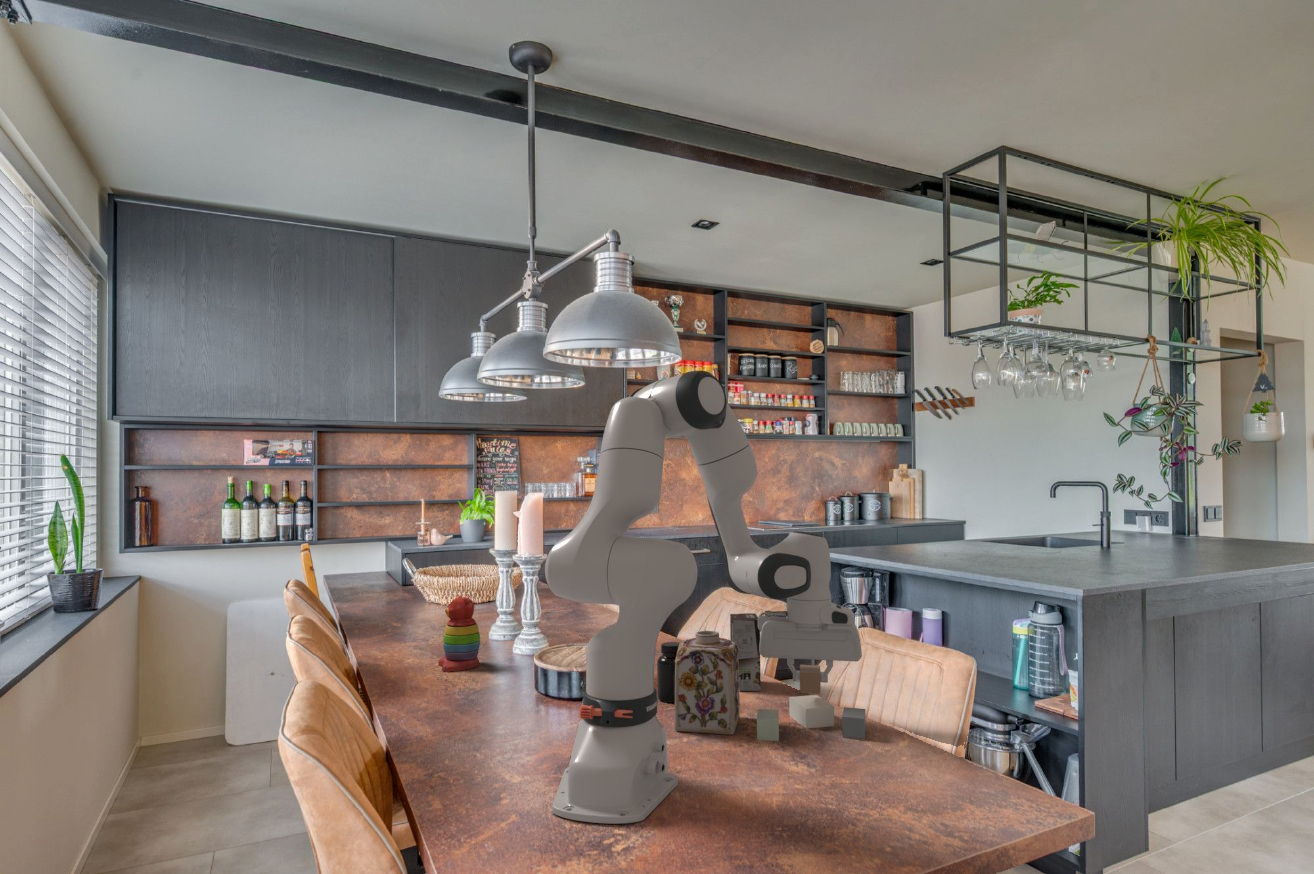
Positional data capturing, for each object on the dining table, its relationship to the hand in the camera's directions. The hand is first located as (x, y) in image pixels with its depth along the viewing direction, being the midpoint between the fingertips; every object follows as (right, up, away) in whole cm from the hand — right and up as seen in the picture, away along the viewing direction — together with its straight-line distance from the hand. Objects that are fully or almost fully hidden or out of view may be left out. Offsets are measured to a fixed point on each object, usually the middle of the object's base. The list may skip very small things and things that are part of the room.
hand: (810, 681), depth 149 cm
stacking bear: (-82, -11, +44) cm, 94 cm away
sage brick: (-10, -7, -9) cm, 15 cm away
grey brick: (+7, -7, -8) cm, 13 cm away
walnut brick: (0, -2, 0) cm, 2 cm away
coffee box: (-10, -9, +24) cm, 28 cm away
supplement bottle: (-27, -9, +14) cm, 32 cm away
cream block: (0, -8, -1) cm, 8 cm away
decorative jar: (-21, -8, -2) cm, 22 cm away
